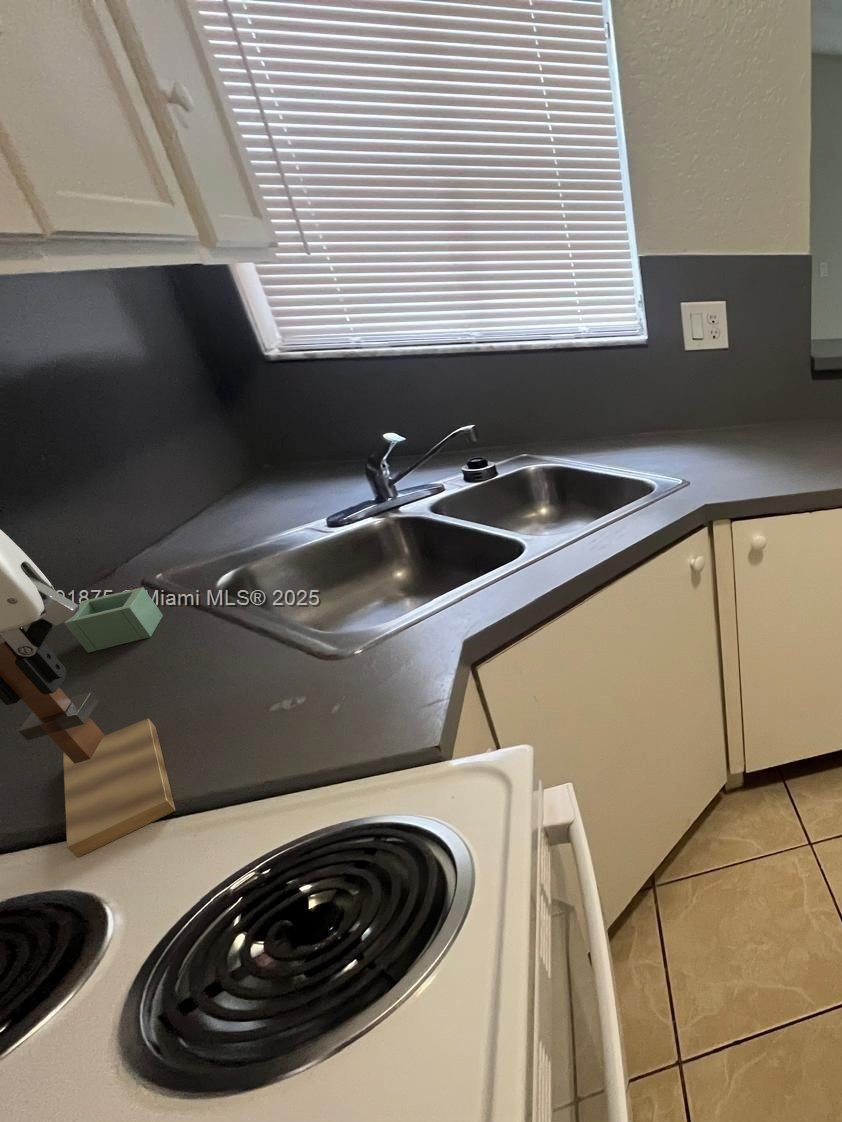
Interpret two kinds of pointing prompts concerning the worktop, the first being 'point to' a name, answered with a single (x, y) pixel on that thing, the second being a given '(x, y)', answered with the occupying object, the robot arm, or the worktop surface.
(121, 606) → the green open box
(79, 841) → the board
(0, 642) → the brown piece
